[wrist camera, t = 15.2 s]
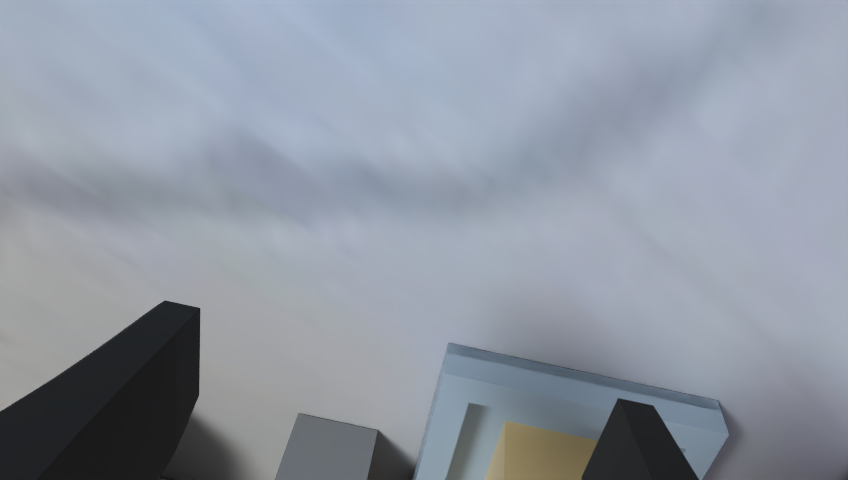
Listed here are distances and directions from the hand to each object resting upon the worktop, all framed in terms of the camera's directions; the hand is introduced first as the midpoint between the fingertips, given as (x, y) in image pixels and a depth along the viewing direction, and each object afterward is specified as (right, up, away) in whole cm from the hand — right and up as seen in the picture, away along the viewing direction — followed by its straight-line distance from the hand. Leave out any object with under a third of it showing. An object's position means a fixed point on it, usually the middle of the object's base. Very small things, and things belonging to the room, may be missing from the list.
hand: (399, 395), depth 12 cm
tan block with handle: (+4, -8, +15) cm, 18 cm away
